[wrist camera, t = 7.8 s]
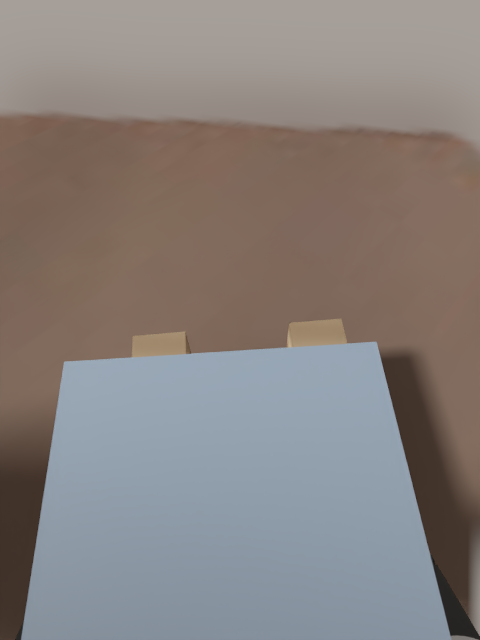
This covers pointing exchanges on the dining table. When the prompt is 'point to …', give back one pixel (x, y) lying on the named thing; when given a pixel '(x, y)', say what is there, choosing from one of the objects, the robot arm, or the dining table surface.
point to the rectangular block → (231, 503)
